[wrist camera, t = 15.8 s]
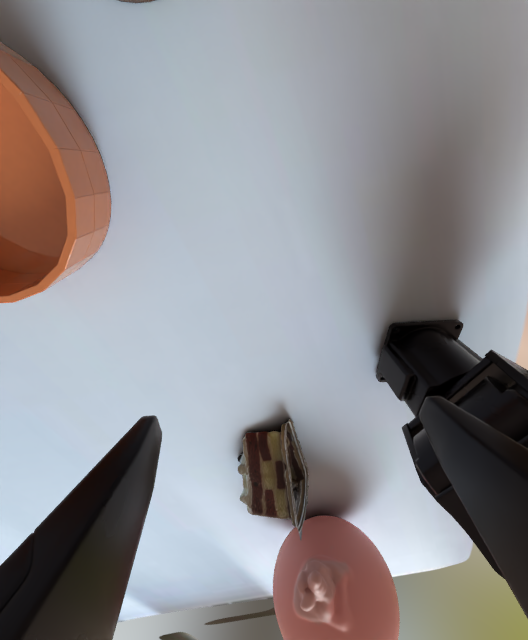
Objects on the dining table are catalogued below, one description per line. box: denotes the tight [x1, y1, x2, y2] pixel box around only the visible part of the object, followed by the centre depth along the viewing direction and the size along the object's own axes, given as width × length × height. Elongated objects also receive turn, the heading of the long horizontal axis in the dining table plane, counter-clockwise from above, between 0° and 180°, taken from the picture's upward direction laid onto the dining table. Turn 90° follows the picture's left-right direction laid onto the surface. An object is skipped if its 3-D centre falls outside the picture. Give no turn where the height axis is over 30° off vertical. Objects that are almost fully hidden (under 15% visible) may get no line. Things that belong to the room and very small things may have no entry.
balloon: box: [273, 515, 399, 640], centre depth 33 cm, size 15×20×15 cm
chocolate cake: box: [238, 419, 309, 540], centre depth 30 cm, size 10×7×12 cm
